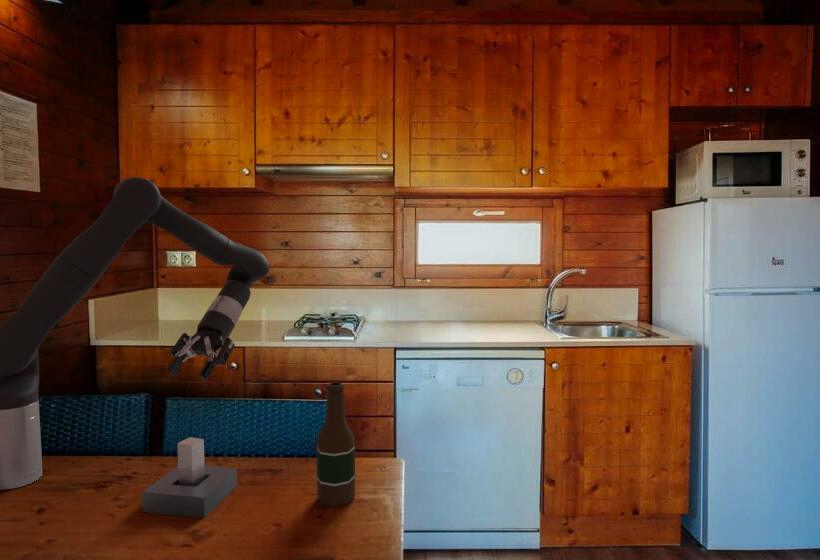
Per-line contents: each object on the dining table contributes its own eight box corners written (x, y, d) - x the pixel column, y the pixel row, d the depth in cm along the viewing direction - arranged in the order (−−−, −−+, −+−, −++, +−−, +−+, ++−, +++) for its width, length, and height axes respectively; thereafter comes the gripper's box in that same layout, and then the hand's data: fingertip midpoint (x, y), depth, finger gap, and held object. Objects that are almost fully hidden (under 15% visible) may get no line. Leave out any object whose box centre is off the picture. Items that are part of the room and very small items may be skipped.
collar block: (142, 511, 104) (141, 492, 104) (181, 481, 117) (180, 463, 117) (204, 517, 102) (203, 497, 102) (236, 486, 115) (236, 468, 115)
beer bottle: (309, 498, 110) (307, 383, 108) (338, 485, 115) (337, 376, 113) (333, 512, 105) (332, 391, 102) (363, 497, 110) (362, 383, 108)
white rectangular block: (179, 500, 109) (177, 443, 108) (191, 492, 112) (189, 437, 111) (193, 503, 108) (191, 445, 107) (205, 495, 111) (203, 439, 110)
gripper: (189, 307, 130) (152, 363, 120) (238, 311, 125) (204, 370, 115) (204, 325, 135) (170, 381, 125) (252, 330, 130) (220, 388, 120)
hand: (186, 376), depth 120 cm, fingers open, 8 cm apart
